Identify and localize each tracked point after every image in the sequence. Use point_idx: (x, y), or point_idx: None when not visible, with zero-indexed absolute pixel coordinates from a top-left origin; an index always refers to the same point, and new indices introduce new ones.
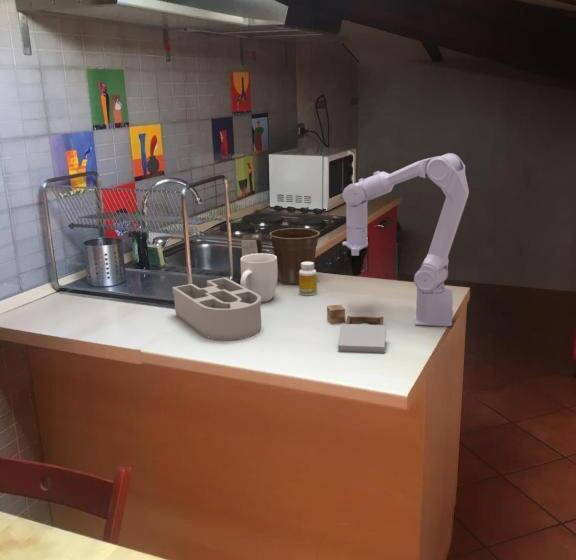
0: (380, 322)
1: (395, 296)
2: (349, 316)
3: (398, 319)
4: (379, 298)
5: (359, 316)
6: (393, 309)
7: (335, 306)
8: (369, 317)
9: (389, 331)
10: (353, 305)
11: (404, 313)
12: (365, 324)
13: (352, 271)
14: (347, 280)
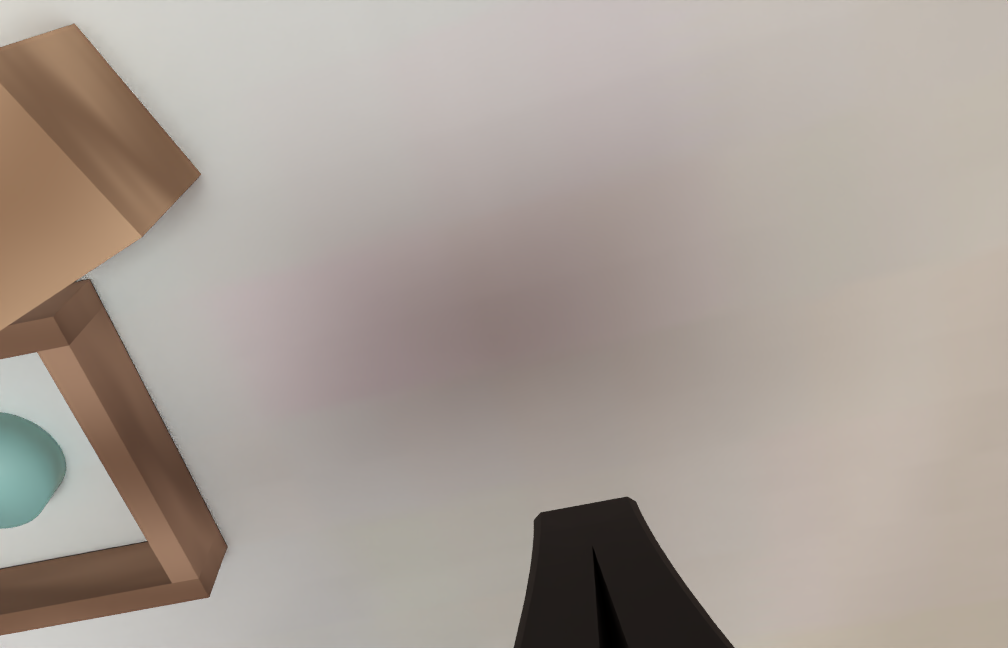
0: (53, 608)
1: (982, 478)
2: (43, 342)
3: (379, 607)
4: (921, 370)
5: (103, 428)
6: None
7: (19, 189)
8: (131, 508)
9: None
10: (658, 184)
11: None
12: (15, 486)
13: (534, 560)
14: None
